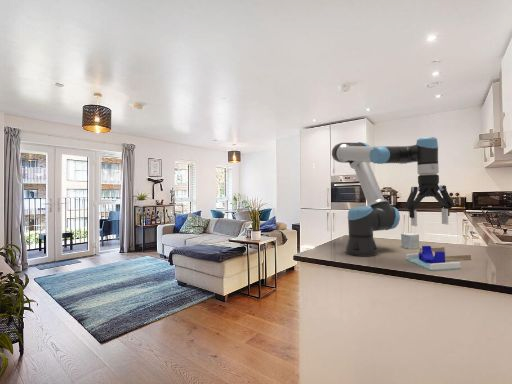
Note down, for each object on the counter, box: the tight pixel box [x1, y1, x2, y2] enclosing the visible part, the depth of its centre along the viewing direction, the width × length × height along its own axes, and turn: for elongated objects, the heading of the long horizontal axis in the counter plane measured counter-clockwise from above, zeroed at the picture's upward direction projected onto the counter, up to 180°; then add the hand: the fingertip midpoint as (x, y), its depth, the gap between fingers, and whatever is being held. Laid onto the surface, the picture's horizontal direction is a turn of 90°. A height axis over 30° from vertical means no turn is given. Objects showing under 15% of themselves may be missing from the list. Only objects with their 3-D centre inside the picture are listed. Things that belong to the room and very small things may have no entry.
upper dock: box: [419, 246, 472, 262], centre depth 127 cm, size 16×12×2 cm
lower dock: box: [405, 253, 461, 271], centre depth 116 cm, size 16×12×2 cm
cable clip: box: [418, 245, 446, 264], centre depth 115 cm, size 12×4×6 cm, turn 174°
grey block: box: [400, 232, 420, 250], centre depth 146 cm, size 6×6×7 cm
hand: (429, 224), depth 115 cm, fingers open, 13 cm apart
